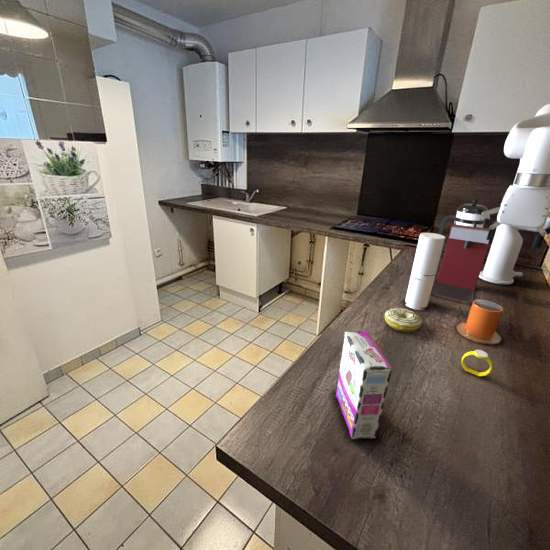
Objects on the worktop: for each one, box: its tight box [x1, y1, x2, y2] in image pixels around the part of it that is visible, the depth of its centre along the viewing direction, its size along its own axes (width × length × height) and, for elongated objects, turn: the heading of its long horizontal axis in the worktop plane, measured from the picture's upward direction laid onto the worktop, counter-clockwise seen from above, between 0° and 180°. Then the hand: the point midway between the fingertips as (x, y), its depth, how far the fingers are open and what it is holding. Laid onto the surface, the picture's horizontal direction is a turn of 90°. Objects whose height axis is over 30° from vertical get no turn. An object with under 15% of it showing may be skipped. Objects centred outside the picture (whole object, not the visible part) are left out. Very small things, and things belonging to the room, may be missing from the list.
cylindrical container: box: [404, 232, 446, 311], centre depth 97 cm, size 7×7×25 cm
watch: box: [461, 349, 493, 377], centre depth 69 cm, size 6×3×6 cm, turn 53°
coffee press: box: [437, 198, 491, 258], centre depth 143 cm, size 17×16×30 cm
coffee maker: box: [431, 223, 490, 304], centre depth 108 cm, size 18×13×24 cm
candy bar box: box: [335, 330, 393, 440], centre depth 55 cm, size 11×5×16 cm, turn 5°
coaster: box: [456, 321, 502, 346], centre depth 86 cm, size 11×11×1 cm
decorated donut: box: [384, 307, 423, 333], centre depth 89 cm, size 10×11×4 cm
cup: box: [464, 299, 504, 339], centre depth 84 cm, size 7×7×9 cm
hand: (510, 246), depth 80 cm, fingers open, 9 cm apart
